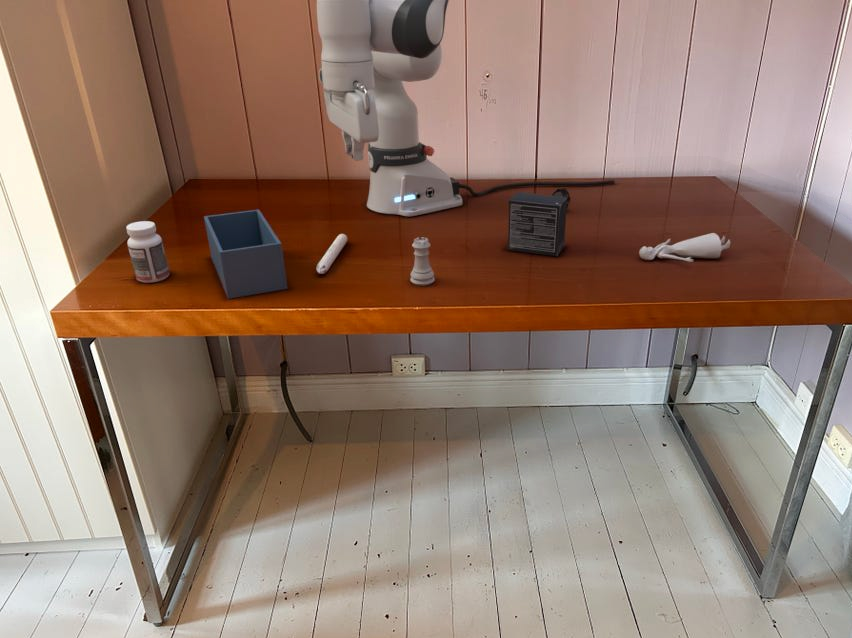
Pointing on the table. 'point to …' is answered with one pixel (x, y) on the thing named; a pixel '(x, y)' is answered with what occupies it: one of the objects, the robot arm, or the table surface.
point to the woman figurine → (688, 248)
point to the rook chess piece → (421, 263)
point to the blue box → (245, 253)
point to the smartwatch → (562, 194)
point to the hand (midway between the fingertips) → (354, 157)
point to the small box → (537, 223)
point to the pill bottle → (147, 252)
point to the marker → (331, 254)
